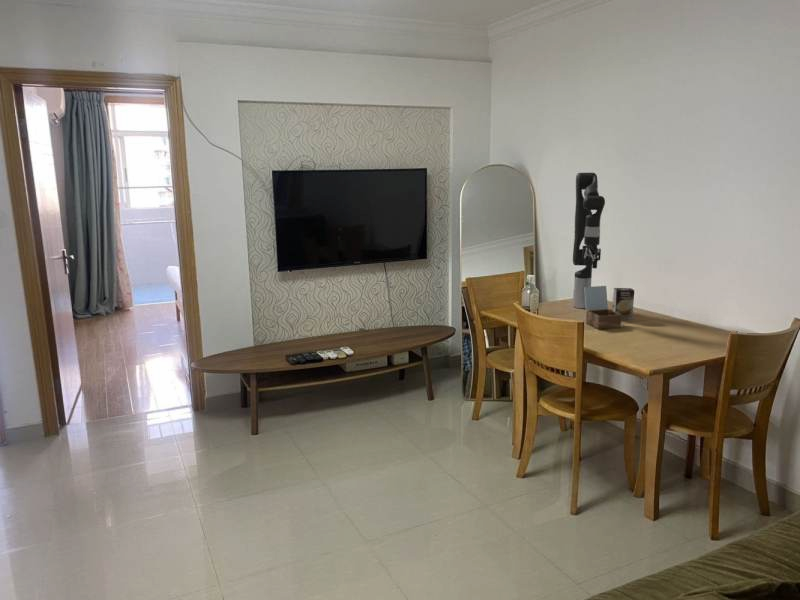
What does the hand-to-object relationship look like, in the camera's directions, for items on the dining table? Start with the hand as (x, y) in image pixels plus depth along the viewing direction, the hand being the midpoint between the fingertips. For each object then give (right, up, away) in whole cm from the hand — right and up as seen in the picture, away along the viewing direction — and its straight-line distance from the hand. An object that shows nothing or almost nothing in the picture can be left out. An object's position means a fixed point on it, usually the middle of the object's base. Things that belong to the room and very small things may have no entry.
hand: (590, 267), depth 309 cm
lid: (+2, -16, -4) cm, 17 cm away
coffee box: (+18, -27, +5) cm, 33 cm away
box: (+4, -30, -8) cm, 31 cm away
